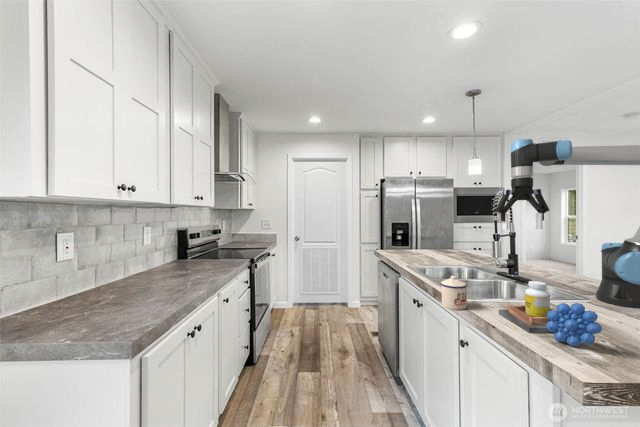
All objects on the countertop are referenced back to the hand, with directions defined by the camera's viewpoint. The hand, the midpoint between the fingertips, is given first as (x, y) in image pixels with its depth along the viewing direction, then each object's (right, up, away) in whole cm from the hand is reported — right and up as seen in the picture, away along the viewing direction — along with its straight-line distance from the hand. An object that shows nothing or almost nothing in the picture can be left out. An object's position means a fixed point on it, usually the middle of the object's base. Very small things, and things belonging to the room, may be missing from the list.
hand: (522, 229), depth 120 cm
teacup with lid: (-31, -30, -8) cm, 43 cm away
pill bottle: (-13, -28, -25) cm, 40 cm away
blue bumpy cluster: (-15, -30, -41) cm, 52 cm away
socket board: (-13, -29, -25) cm, 41 cm away
